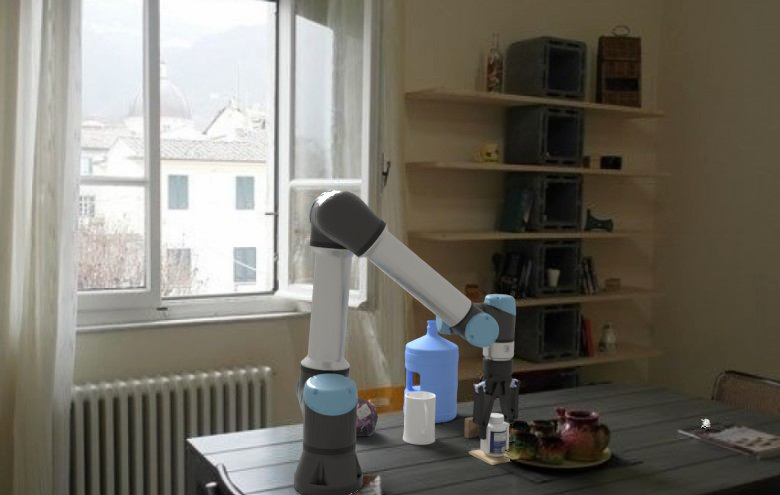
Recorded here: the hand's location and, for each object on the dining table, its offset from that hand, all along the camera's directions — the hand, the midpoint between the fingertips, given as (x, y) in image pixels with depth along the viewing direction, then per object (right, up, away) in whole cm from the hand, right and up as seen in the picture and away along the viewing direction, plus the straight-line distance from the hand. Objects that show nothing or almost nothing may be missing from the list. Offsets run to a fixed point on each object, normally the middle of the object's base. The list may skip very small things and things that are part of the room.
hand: (494, 449), depth 189 cm
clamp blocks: (0, -1, +13) cm, 13 cm away
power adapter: (+63, -2, +29) cm, 69 cm away
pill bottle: (0, -1, 0) cm, 1 cm away
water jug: (-14, +1, +34) cm, 37 cm away
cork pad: (0, -2, 0) cm, 2 cm away
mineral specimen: (-34, 0, +15) cm, 37 cm away
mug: (-18, -1, +10) cm, 21 cm away
